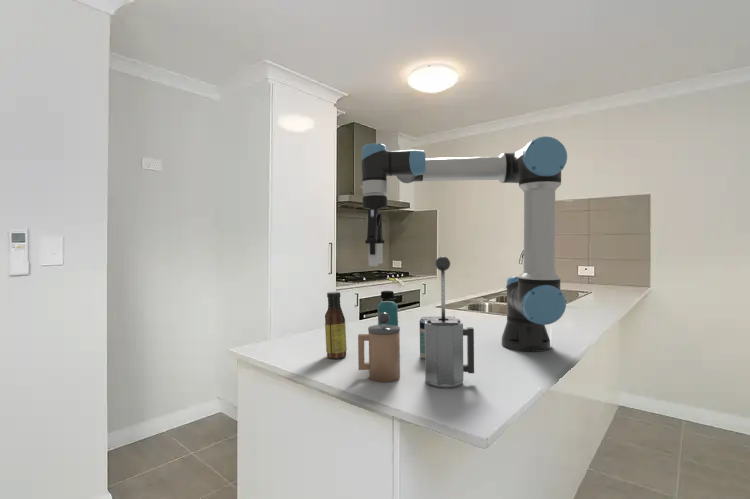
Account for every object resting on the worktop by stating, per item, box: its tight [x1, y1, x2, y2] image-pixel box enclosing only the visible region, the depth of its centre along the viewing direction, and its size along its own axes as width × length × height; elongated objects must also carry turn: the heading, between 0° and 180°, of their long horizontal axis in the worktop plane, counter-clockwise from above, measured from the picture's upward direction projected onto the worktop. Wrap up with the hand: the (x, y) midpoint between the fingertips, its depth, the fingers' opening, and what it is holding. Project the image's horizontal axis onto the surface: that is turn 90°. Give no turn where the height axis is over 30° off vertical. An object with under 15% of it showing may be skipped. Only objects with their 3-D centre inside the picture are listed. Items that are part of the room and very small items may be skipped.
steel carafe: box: [424, 316, 475, 390], centre depth 100 cm, size 12×9×16 cm
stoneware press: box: [357, 312, 401, 383], centre depth 104 cm, size 11×8×17 cm
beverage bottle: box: [377, 290, 399, 327], centre depth 124 cm, size 6×7×20 cm
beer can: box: [419, 316, 431, 360], centre depth 121 cm, size 5×5×12 cm
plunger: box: [435, 255, 451, 320], centre depth 100 cm, size 6×6×20 cm
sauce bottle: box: [324, 291, 348, 360], centre depth 124 cm, size 6×6×20 cm
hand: (375, 264), depth 124 cm, fingers open, 13 cm apart
